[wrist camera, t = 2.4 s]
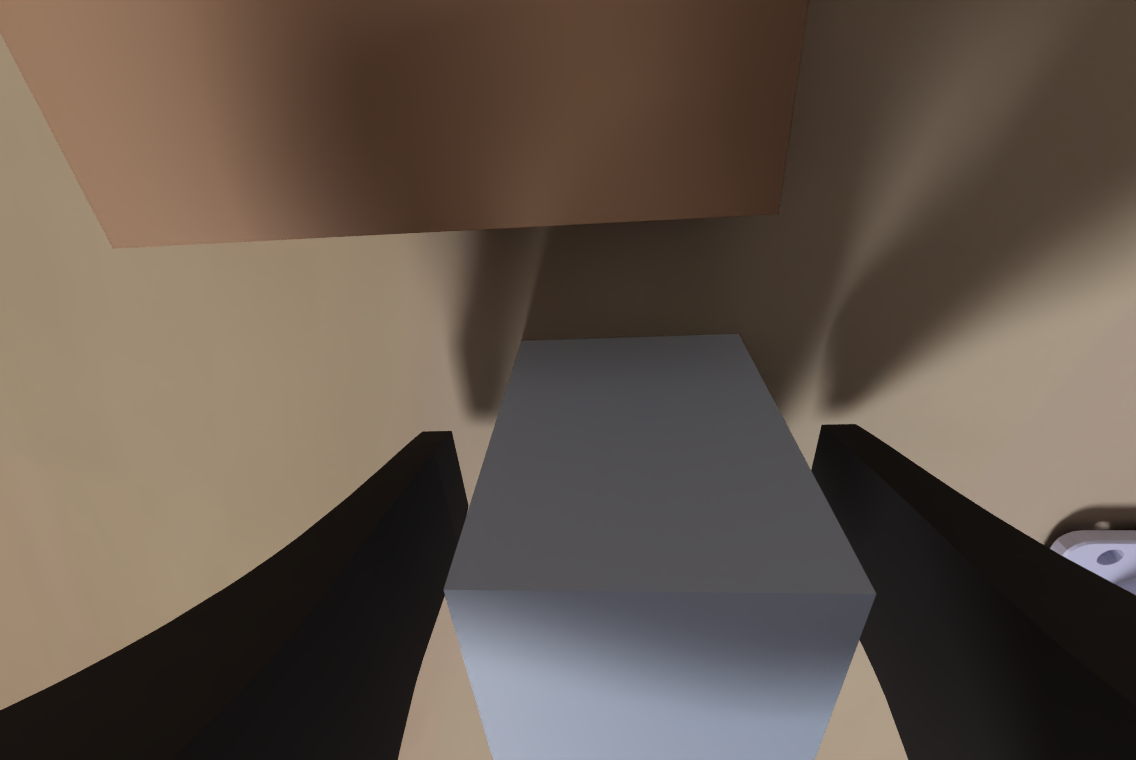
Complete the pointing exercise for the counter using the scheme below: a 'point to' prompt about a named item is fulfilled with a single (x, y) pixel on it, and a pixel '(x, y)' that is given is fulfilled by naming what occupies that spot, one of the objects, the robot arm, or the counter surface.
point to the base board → (410, 112)
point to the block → (651, 562)
